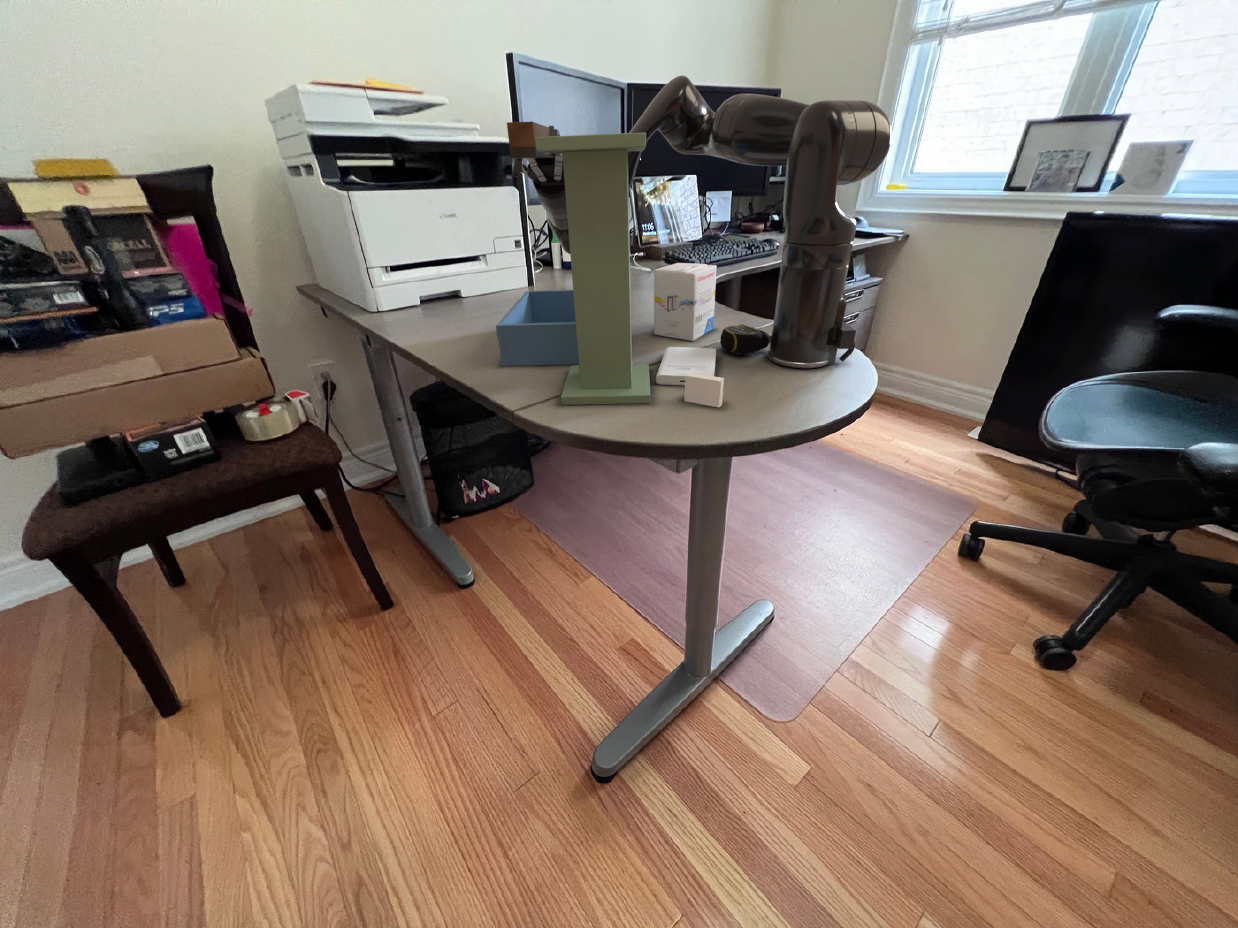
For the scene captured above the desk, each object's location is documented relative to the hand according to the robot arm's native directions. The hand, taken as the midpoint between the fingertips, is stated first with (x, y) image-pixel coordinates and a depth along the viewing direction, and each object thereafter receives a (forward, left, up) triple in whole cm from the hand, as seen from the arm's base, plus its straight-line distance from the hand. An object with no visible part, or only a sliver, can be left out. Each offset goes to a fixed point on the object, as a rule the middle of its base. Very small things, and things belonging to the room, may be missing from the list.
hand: (538, 132), depth 76 cm
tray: (0, +3, -32) cm, 32 cm away
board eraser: (0, +4, -3) cm, 5 cm away
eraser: (-24, +31, -32) cm, 51 cm away
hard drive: (-23, +19, -32) cm, 44 cm away
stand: (-11, +25, -32) cm, 42 cm away
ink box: (-24, -1, -32) cm, 40 cm away
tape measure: (-33, +10, -32) cm, 47 cm away
